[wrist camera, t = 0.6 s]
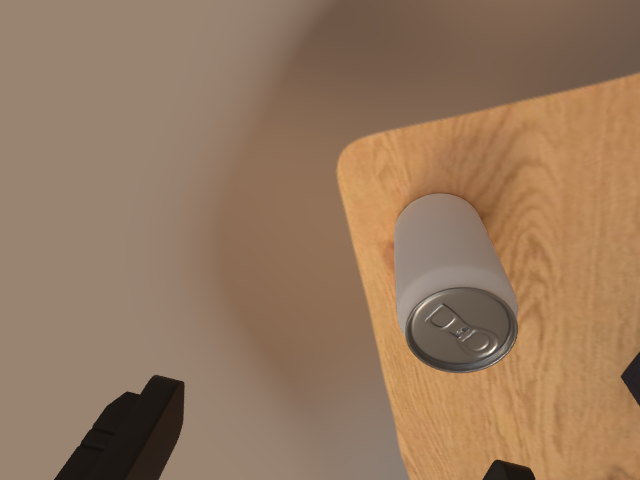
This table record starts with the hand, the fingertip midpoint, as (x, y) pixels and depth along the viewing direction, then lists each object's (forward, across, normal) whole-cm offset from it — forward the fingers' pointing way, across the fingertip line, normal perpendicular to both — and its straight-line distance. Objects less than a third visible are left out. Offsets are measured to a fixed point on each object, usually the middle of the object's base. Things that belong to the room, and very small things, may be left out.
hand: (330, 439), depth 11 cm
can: (+23, -6, +4) cm, 24 cm away
